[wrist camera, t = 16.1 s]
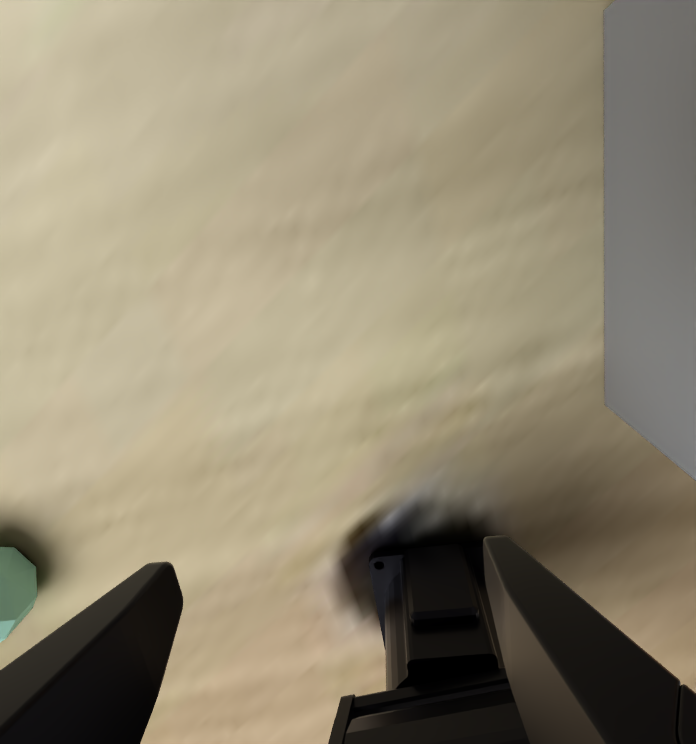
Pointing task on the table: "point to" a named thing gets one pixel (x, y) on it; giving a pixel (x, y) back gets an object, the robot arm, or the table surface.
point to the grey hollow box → (651, 221)
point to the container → (15, 589)
